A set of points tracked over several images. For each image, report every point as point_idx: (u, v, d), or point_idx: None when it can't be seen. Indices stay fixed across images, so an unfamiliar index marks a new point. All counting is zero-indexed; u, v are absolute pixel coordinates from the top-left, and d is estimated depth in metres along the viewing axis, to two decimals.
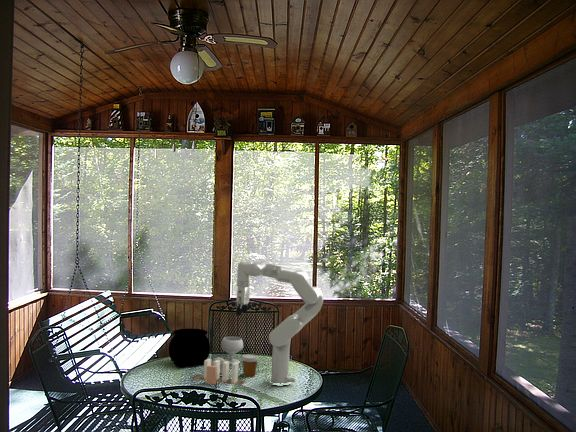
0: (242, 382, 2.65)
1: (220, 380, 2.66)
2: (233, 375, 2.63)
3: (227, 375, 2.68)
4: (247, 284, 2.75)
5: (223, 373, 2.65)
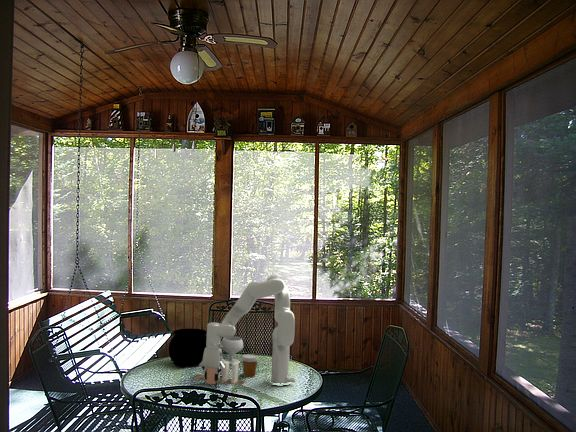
0: (242, 382, 2.65)
1: (220, 380, 2.66)
2: (233, 375, 2.63)
3: (227, 375, 2.68)
4: None
5: (223, 373, 2.65)
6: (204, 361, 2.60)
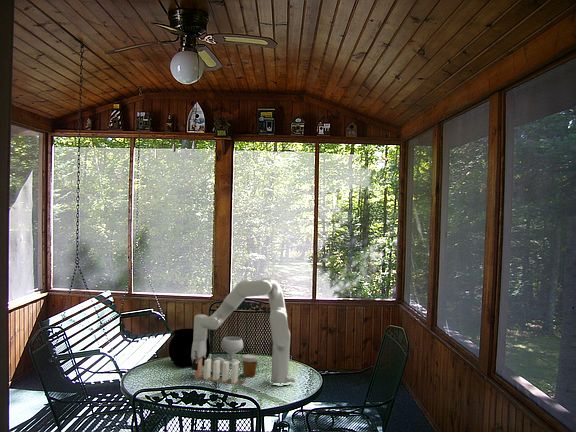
0: (242, 382, 2.65)
1: (220, 380, 2.66)
2: (233, 375, 2.63)
3: (227, 375, 2.68)
4: None
5: (223, 373, 2.65)
6: (200, 353, 2.68)
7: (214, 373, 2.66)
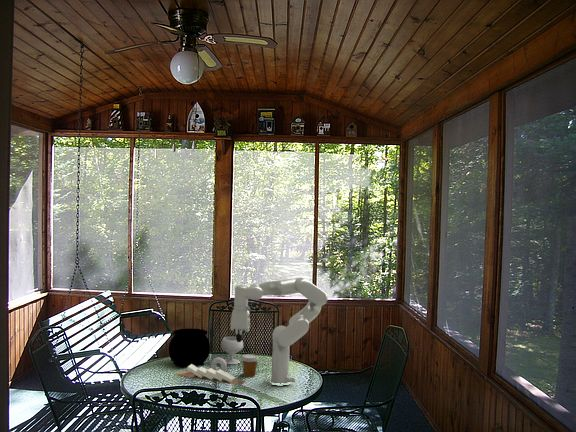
0: (242, 382, 2.65)
1: None
2: (224, 377, 2.64)
3: None
4: None
5: (214, 376, 2.66)
6: (232, 323, 2.65)
7: (206, 375, 2.67)
